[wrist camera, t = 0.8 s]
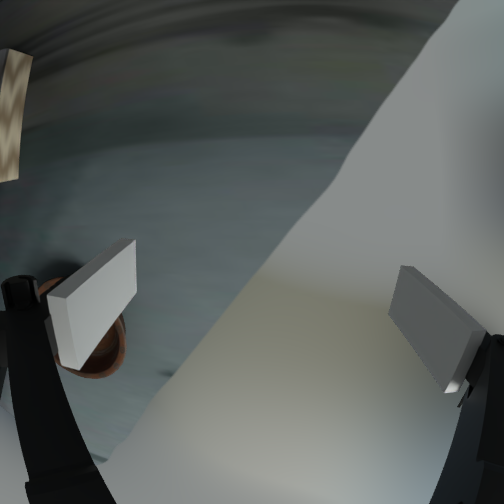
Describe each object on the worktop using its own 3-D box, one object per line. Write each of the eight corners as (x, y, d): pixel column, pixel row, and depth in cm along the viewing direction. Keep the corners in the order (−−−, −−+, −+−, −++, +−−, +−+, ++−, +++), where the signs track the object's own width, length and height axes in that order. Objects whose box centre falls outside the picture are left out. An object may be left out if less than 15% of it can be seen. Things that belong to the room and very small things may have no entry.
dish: (29, 321, 48) (15, 334, 43) (78, 234, 43) (61, 243, 38) (99, 383, 51) (90, 400, 46) (164, 311, 46) (156, 328, 42)
